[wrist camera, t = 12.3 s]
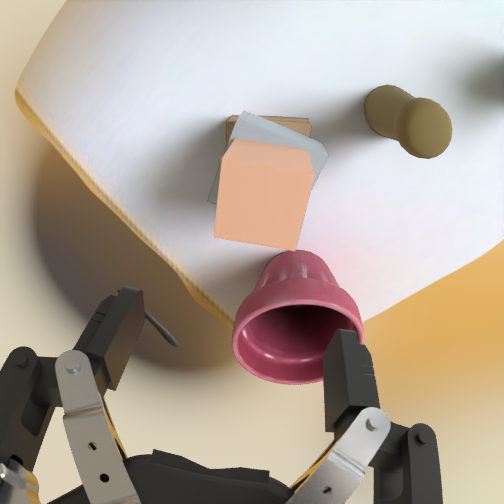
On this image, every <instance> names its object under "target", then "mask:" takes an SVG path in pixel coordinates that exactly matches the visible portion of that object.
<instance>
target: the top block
mask: <svg viewBox="0 0 504 504" xmlns="http://www.w3.org/2000/svg"><path fill="white" fill-rule="evenodd" d="M235 138H240V139H247V140H253V141H259V142H265V143H271V144H276V145H282V146H287V147H292V148H298V149H303V150H307V151H309V155H310V159H311V163H312V166H313V170H314V174H315V175H314V179H313V183H312V187H311V190H312V188H313V186H314V184H315V182H316V180H317V178H318V176H319V174H320V172H321V170H322V168H323V166H324V164H325V162H326V160H327V158H328V156H329V155H328V153H327V151H326V149H325V147H324V145H323V143H321V142H319V141H317V140H315V139H312V138H310V137H308V136H305V135H303V134H301V133H299V132H296V131H294V130H291V129H289V128H287V127H284V126H282V125H279V124H277V123H274V122H272V121H269V120H267V119H264V118H262V117H259V116H256V115H254V114H251V113H248V112H245V111H244V112H243V113H242V114H241V115H240V116H239V117H238V118H237V121H236V123H235V126H234V128H233V131H232V134H231V136H230V139H229V142H228V144H227V147H226V150H225V153H226V151H227V150H228V148H229V147H230V145H231V144H232V142H233V141H234V139H235ZM225 153H224V154H225ZM223 156H224V155H223ZM221 163H222V161H221ZM220 172H221V164H220V166H219V169H218V172H217V175H216V178H215V180H214V183H213V186H212V189H211V192H210V195H209V198H208V201H209V202H212V203H214V204H217V199H218V190H219V181H220Z"/></svg>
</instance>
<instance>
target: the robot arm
mask: <svg viewBox="0 0 504 504" xmlns="http://www.w3.org/2000/svg"><path fill="white" fill-rule="evenodd" d="M144 320H145V312H144V301H143V292H142V290H140V289H136V288H132V287H128V286H124V287H123V288H122V289H121V291H120V293H119V294H118V296H117V297H116V296H113V295H110V296H109V297H107V298H106V299H105V300H103V301H102V302H101V303H100V305H99V307H98V308H97V310H96V313H94V315H93V316H92V318H91V321H89V323H88V325H87V326H86V328H85V330H84V331H83V333H82V335H81V336H80V338H79V340H78V342H77V343H76V345H75V347H74V348H73V349H72V350H69V351H66V352H64V353H63V354H61V355H60V356H59V357H57V358H56V357H55V358H54V357H38V356H37V355H36V353H35V352H34V351H33V350H32V349H31V348H29V347H18V348H16V349H14V350H13V351H12V352H11V353H10V354H9V356H8V358H7V360H6V361H5V363H4V365H3V367H2V369H1V371H0V504H41V503H40V501H39V497H38V492H39V484H38V481H37V479H36V477H35V476H34V475H33V473H32V471H33V468H34V465H35V462H36V459H37V456H38V453H39V450H40V447H41V445H42V442H43V439H44V436H45V433H46V431H47V428H48V425H49V423H50V420H51V417H52V415H53V412H54V410H55V407H63V408H64V413H65V415H64V416H63V423H64V426H65V430H66V434H67V438H68V441H69V444H70V448H71V451H72V454H73V457H74V460H75V463H76V466H77V469H78V472H79V475H80V478H81V480H82V483H83V484H82V485H80V486H79V487H77V488H75V489H73V490H71V491H70V492H68V493H66V494H64V495H62V496H60V497H58V498H57V499H55V500H53V501H51V502H49V503H47V504H344V503H345V502H346V501H347V499H348V498H349V497H350V495H351V494H352V493H353V492H354V490H355V489H356V487H357V486H358V485H359V483H360V482H361V480H362V479H363V477H364V475H365V473H364V470H365V468H366V467H367V466H370V467H374V504H443V499H442V484H441V474H440V464H439V456H438V448H437V440H436V435H435V433H434V431H433V430H432V428H431V427H429V426H428V425H426V424H423V423H418V424H415V425H413V426H412V427H411V428H408V427H404V426H401V425H398V424H395V423H393V422H391V421H390V419H389V417H388V416H387V414H385V412H384V411H382V410H381V409H380V405H379V398H378V392H377V386H376V380H375V376H374V369H373V363H372V358H371V354H370V353H369V351H368V349H367V348H366V346H365V345H362V344H359V343H358V338H357V333H356V331H352V330H345V329H337V330H336V332H335V334H334V335H333V337H332V339H331V341H330V343H329V345H328V347H327V349H326V351H325V353H324V357H323V381H324V400H325V401H324V403H325V431H326V432H334V440H333V441H332V442H331V443H330V444H329V446H328V447H327V448H326V449H325V450H324V451H323V453H322V454H321V455H320V456H319V457H318V458H317V460H316V461H315V462H314V463H313V464H312V465H311V466H310V467H309V469H308V470H307V471H306V472H305V473H304V474H303V475H302V476H300V478H299V479H298V480H296V482H295V483H293V484H292V485H291V486H290V487H287V486H286V485H285V484H283V483H282V482H280V481H278V480H276V479H274V478H272V477H269V471H266V470H258V469H250V468H242V467H239V468H226V469H209V468H206V467H204V466H201V465H199V464H197V463H195V462H193V461H191V460H188V459H186V458H184V457H182V456H179V455H174V454H171V453H166V452H163V451H159V450H156V449H153V453H152V454H146V455H137V456H133V457H129V458H128V457H127V455H126V453H125V450H124V448H123V446H122V443H121V441H120V439H119V437H118V434H117V432H116V430H115V427H114V424H113V422H112V419H111V416H110V413H109V410H108V407H107V404H106V402H105V398H104V395H105V392H106V390H107V388H108V389H111V390H114V391H115V390H116V388H117V386H118V383H119V381H120V379H121V376H122V374H123V372H124V369H125V367H126V365H127V362H128V360H129V358H130V355H131V353H132V351H133V349H134V346H135V344H136V342H137V340H138V337H139V335H140V333H141V331H142V328H143V325H144Z"/></svg>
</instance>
